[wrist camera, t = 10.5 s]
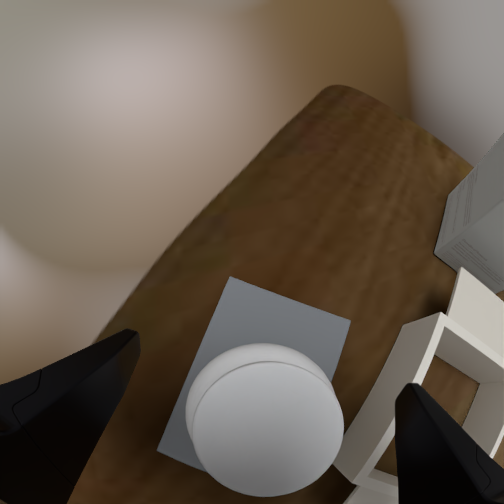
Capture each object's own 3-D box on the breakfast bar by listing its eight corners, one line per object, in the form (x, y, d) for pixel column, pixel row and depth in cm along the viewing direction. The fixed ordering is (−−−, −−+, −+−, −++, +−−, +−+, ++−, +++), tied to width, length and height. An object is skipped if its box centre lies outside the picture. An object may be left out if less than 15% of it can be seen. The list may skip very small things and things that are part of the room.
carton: (402, 528, 11) (430, 550, 7) (296, 498, 13) (310, 531, 9) (497, 341, 17) (534, 331, 13) (419, 283, 19) (455, 261, 14)
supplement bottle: (279, 336, 17) (322, 300, 8) (315, 415, 15) (394, 461, 6) (193, 370, 16) (132, 375, 7) (230, 450, 14) (216, 536, 5)
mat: (280, 491, 13) (281, 494, 13) (159, 448, 14) (156, 450, 14) (347, 322, 18) (350, 320, 17) (230, 279, 18) (229, 276, 18)
